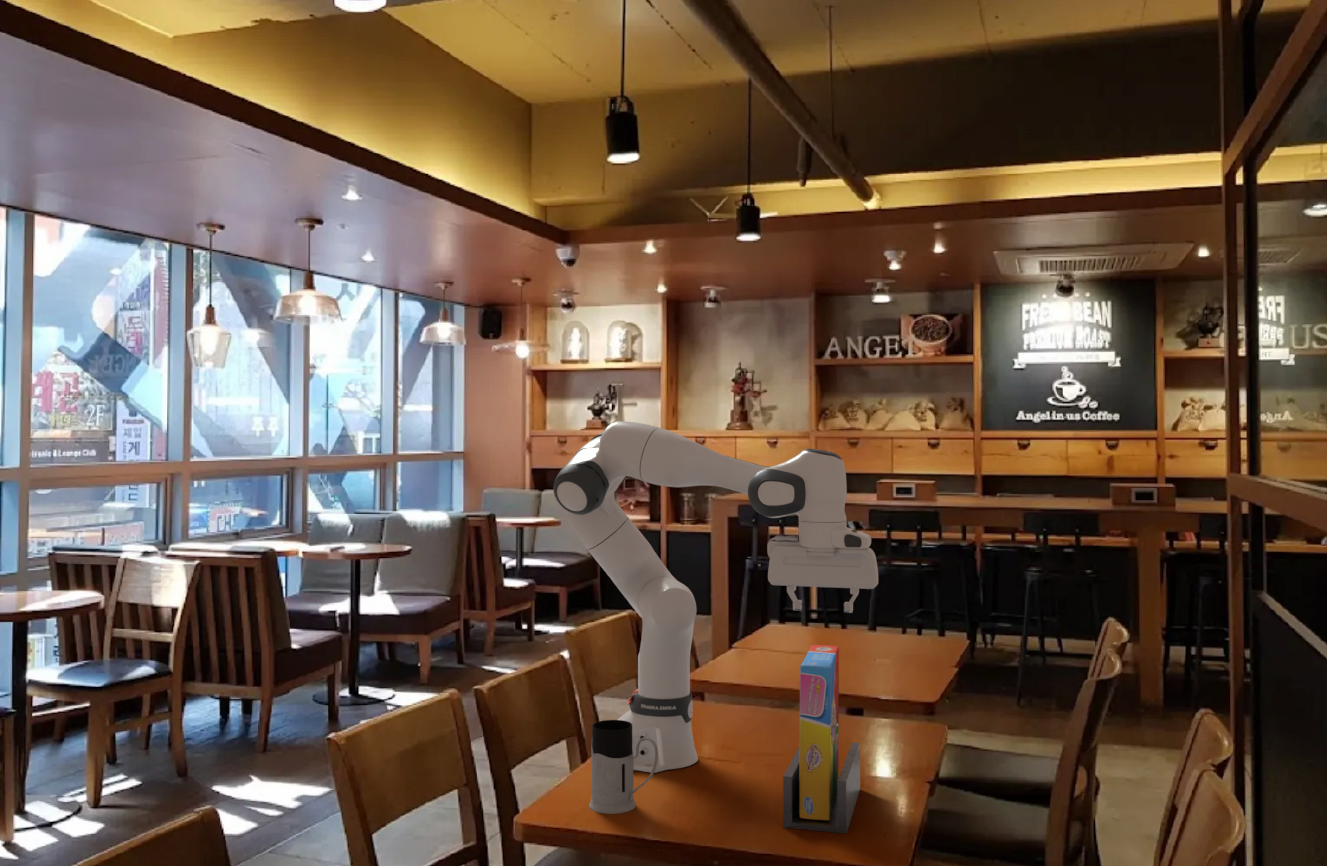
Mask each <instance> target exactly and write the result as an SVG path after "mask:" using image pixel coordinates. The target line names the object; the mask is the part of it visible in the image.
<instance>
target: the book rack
mask: <svg viewBox="0 0 1327 866" xmlns="http://www.w3.org/2000/svg"><path fill="white" fill-rule="evenodd" d="M799 760H800V745H799V746H798V749H797V750H796V752H795V753H794V755H793V757H792V760H790V762H789V765H788V766H787V768H786V770H785V772H784V774H783V776H782V778H783V779H782V783H783V784H782V795H783V796H782V797H783V801H782V805H783V806H782V809H783V811H782V813H783V816H782V817H783V818H782V819H783V821H782V822H783V825H782V826H783V828H784V829H785V828H786V829H797V830H805V831H815V832H816V831H817V832H826V833H837V834H847V833H848V830H849V827H850V824H851V821H852V817H853V815H854V811H855V808H856V803H857V801H858V798H859V795H860V791H861V743H860V742H851V745H850V748H849V750H848V752H847V755H846V757H845V760H844V763H843V766H842V767H841V771H840V772H839V775H838V777H839V778H838V789H837V793H836V797H835V801H834V805H833V809H832V813H831V817H830V820H813V819H802V818H800V816H799Z"/></svg>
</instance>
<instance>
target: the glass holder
mask: <svg viewBox="0 0 1327 866" xmlns="http://www.w3.org/2000/svg"><path fill="white" fill-rule="evenodd" d="M591 730H592V731H591V732H592V733H591V734H592V737H591V741H590V745H591V750H590V751H591V798H590V801H589V805H588V807H589V809H590V810H592V811H593V812H595V813H600V814H604V815H605V814H606V815H607V814H609V815H614V814H615V815H616V814H624V813H627V812H630V811H633V810H634V809H635V808H636V806H637V804H636V801H635V797H634V796H635V795H634V794H635V793H636V792H637V791H638V790H639V789H641V788H642V787H643V786H645V784H647V783H648V781H650V780H651V779H652V777H653V775H654V771H655V769H656V766H657V761H658V748H657V745H656V743H655V742H654V740H653V739H651V738H648V737H643V738H641V739H640V740H639V741H638V743H637V745H636V755H635V757H633V750H632V723H630V722H627V721H623V720H617V719H606V720H600V721H597V722H594V723H593V724H592V725H591ZM644 739H646V740H649V741H650V742H651V743H652V744H653V746H654V748H655V761H654V766H653V769H652V771H651V772H649V773H650V774H649V775H648V776H647V778H646V779H645V780H644V781H643V782H642V783H641V784H639V785H638V786H637V787H635V789H634V770H633V759H635V758H637V757H638V755H639V745H640V743H641V741H642V740H644Z"/></svg>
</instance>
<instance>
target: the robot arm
mask: <svg viewBox="0 0 1327 866" xmlns="http://www.w3.org/2000/svg"><path fill="white" fill-rule="evenodd" d="M627 477H630V478H633V479H636V480H639V481H642V482H645V483H647V484H652V485H656V486H661V487H670V488H688V487H698V486H709V487H711V486H713V487H719V488H720V487H721V488H722V489H723V488H724V489H728V490H731V491H734V492H738V493H742V494H744V495H745V494H746V495H747V497H748V501H749V503H750V505H751V507H752V508H753V510H754V511H755V512H757V513H758V514H759V515H762V516H764V517H766V518H770V519H777V518H778V519H779V518H784V517H788V516H791V517H793V516H797V517H798V535H775V536H774V537H772V538H770V539H769V540H768V542H767V549H766V550H767V551H766V552H767V556H768V558H769V564H768V570H767V571H768V572H767V580H768V582H769V583H770V585H772V586H784V587H785V586H786V593H787V594H788V596H789V598H790V599H791V601H792V610H793V611H802V609H803V605H802V604H803V599H798V597H797V595H796V593H795V591H796V590H797V587H810V588H811V587H813V588H815V587H816V588H836V589H837V588H838V589H849V593H850V595H852V597H850V599H849V601H845V602H844V603H843V613H847V614H848V613H849V614H853V611H854V602H855V600H856V598H857V597H858V595H859V593H860V589H864V590H865V589H866V590H873V589H875V588H876V587H877V586H878V584H879V569H878V562H877V556H876V553H875V552H874V550H873V549H872V548H871V547H870V546H871V544H872V537H871V535H869V533H866V532H862V531H858V530H856V529H852V528H850V527H847V523H848V521H847V514H846V512H845V509H846V508H845V505H846V502H847V501H846V500H847V494H848V493H847V492H848V491H847V490H848V489H847V487H848V485H847V473H846V467H845V463H844V460H843V458H841V456H840V455H838V454H837V453H835V452H832V451H828V450H823V449H818V448H817V449H816V448H805V449H803V450H802V451H800V453H799V454H797V455H795V456H794V457H792V458H790V459H788V460H785V461H783V462H781V463H779V464H775V465H773V466H767V465H761V464H758V463H754V462H750V461H747V460H743V459H739V458H735V457H731V456H729V455H725V454H722V453H719V452H717V451H715V450H713V449H710V448H708V447H706V446H704V445H703V444H701V443H698V442H696V441H694V440H692V439H690V438H687V437H686V436H683V435H682V434H679V433H676V432H673V431H671V430H669V429H665V428H661V427H659V426H655V425H650V424H646V423H640V422H634V421H623V420H622V421H621V420H620V421H619V420H617V421H613V422H612V423H610V424H608V425H607V426H606V427H605V429H604V430H603V432H600V433H598V434H597V435H595V436H593V437H592V438H591V439H590V441H589V442H587V443H585V444H584V445H582V447H581V448H580V449H578V450H577V451H576V452H575V454H574V455H573V457H572V458H571V459H570V460H569V461H568V463H567V464H566V465H565V466H564V467H562V468H561V469H560V471H559V472H558V473H557V476H556V477H555V479H554V482H553V488H552V489H553V494H554V495H553V496H554V497H555V499H556V502H557V503H558V504H559V506H561V508H562V509H564V515H565V518H566V519H567V521H568V523H569V525H570V526H571V528H572V530H573V531H574V533H575V535H576V537H577V538H578V539H579V541H580V542H581V544H582V546H583V547H585V549H586V550H587V551H588V552H589V554H590V555H591V556H592V557H593V559H594V560H595V561H596V563H597V564H598V565H599V566H600V567H601V568H602V570H603V571H604V572H605V573H606V575H607V576H608V577H609V578H610V580H611V581H612V582H613V584H614V585H615V586H616V588H617V589H618V590H619V592H620V593H621V594H622V595H623V597H624V599H626V600H627V602H628V604H629V605H630V606H631V607H632V609H634V611H635V612H636V613H637V614H638V616H639V618H641V620H642V622H641V623H642V627H641V628H642V629H641V640H640V647H639V653H638V655H637V661H638V663H637V664H638V665H637V686H638V687H637V688H636V689H635V690H634V691H633V692H632V694H631V695H630V696H629V698H628V699H627V701H628V702H627V705H628V706H629V710H628V711H626V712H625V713H624V714H622V715H621V716H620V717H619V718H618V719H616V720H623V721H627V722H630V723H632V750H633V757H635V755H636V745H637V743H638V741H639V740H640V739H641V738H643V737H648V738H651V739H653V740H654V742H655V743H656V745H657V748H658V761H657V766H656V769H655V771H654V773H660V772H663V771H667V770H674V769H675V770H676V769H682V768H686V767H689V766H691V765H694V764H695V763H697V762H698V760H699V757H698V753H697V750H696V747H695V743H694V736H693V730H692V729H693V728H692V719H693V714H694V713H693V709H694V708H693V707H694V706H693V703H694V702H693V695H692V694H693V693H692V692H691V689H690V688H691V679H690V678H691V677H690V676H691V673H690V672H691V669H690V668H691V667H690V665H691V664H690V663H691V648H692V643H693V637H694V628H695V619H696V618H697V617H696V616H697V603H696V600H695V596H694V594H693V592H692V591H691V589H690V588H689V587H688V586H686V585H685V584H684V583H682V582H680V581H679V580H677V579H676V578H675V577H674V575H672V574H671V572H670V571H669V570H668V568H667V567H666V565H665V564H664V562H663V561H662V560H661V559H660V557H659V556H658V554H657V552H655V550H654V548H653V547H652V545H651V544H650V543H649V541H648V540H647V539H646V537H645V536H644V535H643V534H642V532H641V531H640V530H639V529H638V527H637V526H636V525H635V524H634V522H633V521H632V520H631V518H630V517H629V516H628V515H627V514H626V512H625V511H624V510H623V509H622V508H621V506H620V505H619V504H618V502H617V501H616V499H615V492H616V491H617V490H618V488H619V486H621V485H622V484H623V483H624V481H625V480H626V479H627ZM654 761H655V748H654V746H653V744H652V743H651V742H650V741H649V740H646V739H644V740H642V741H641V743H640V745H639V755H638V757H637V758H635V759H633V771H638V772H646V773H651V771H652V769H653V766H654Z"/></svg>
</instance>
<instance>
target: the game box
mask: <svg viewBox="0 0 1327 866" xmlns="http://www.w3.org/2000/svg"><path fill="white" fill-rule="evenodd" d="M839 657H840V647H839V646H838V645H824V644H823V645H822V644H811V645H810V647H809V649H808V651H807V653H806V656H805V657H804V660H803V661H802V663H801V665H800V667H799V746H800V760H799V816H800V818H802V819H813V820H830V817H831V813H832V809H833V805H834V801H835V797H836V793H837V789H838V778H839V748H840V747H839V735H840V734H839V733H840V731H839V730H840V729H839V722H840V721H839V719H840V717H839V711H840V709H839V707H840V706H839V702H840V701H839V700H840V699H839V698H840V697H839V696H840V695H839V694H840V693H839V692H840V691H839V689H840V688H839V687H840V685H839V684H840V680H839V679H840V678H839V677H840V676H839V675H840V674H839V673H840V667H839V666H840V665H839V664H840V660H839V659H840V658H839Z"/></svg>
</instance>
